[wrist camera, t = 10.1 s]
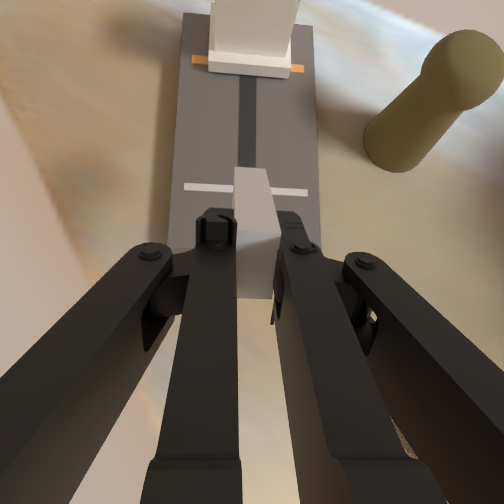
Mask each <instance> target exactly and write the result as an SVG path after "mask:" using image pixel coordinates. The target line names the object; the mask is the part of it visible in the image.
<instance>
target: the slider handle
mask: <svg viewBox="0 0 504 504" xmlns="http://www.w3.org/2000/svg"><path fill="white" fill-rule="evenodd" d="M299 2H300V0H215V3H211V13H210V34H209V55H208V72H219V73H231V74H242V75H254V76H265V77H276V78H289V74H290V71H291V34H292V30H293V26H294V22H295V18H296V14H297V10H298V6H299Z"/></svg>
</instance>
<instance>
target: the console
mask: <svg viewBox="0 0 504 504" xmlns="http://www.w3.org/2000/svg"><path fill="white" fill-rule="evenodd" d="M209 34H210V15H203V14H194V13H183V28H182V42H181V56H180V70H179V85H178V99H177V113H176V127H175V142H174V156H173V170H172V184H171V199H170V213H169V227H168V241H167V246H168V247H169V248H171V251H172V253H173V254H177V253H182V252H186V251H189V250H191V249H193V248H195V244H196V219H197V218H198V217H199V216H201V215H203V214H204V212H205V211H206V210H207V209H208V208H210V207H213V208H230V209H232V202H233V185H234V169H235V167H248V168H262V169H266V173H267V177H268V181H269V185H270V189H271V193H272V197H273V201H274V205H275V209H276V210H278V211H294V212H295V213H296V214H297V215H299V216H300V217H301V220H302V222H303V225H304V228H305V230H306V233H307V236H308V238H309V241H310V242H313V243H314V244H316V245H318V247H319V248H320V249H321V231H320V205H319V179H318V153H317V126H316V100H315V74H314V48H313V26H309V25H299V24H294V26H293V30H292V34H291V71H290V74H289V78H276V77H265V76H254V75H242V74H231V73H219V72H208V55H209Z"/></svg>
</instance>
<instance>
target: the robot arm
mask: <svg viewBox="0 0 504 504" xmlns="http://www.w3.org/2000/svg"><path fill="white" fill-rule="evenodd" d="M273 289H274V296H275V297H274V303H273V310H272V317H271V323H270V325H273V324H274V320H275V328H276V335H277V342H278V349H279V356H280V363H281V370H282V377H283V384H284V391H285V398H286V406H287V413H288V420H289V427H290V434H291V441H292V448H293V455H294V462H295V469H296V477H297V484H298V491H299V498H300V504H448V503H449V504H504V372H503V371H502V370H501V369H500V368H499V367H498V366H497V365H496V364H495V363H494V362H492V361H491V360H490V359H489V358H488V357H487V356H486V355H485V354H484V353H483V352H482V351H480V350H479V349H478V348H477V347H476V346H475V345H474V344H473V343H472V342H471V341H470V340H469V339H467V338H466V337H465V336H464V335H463V334H462V333H461V332H460V331H459V330H458V329H457V328H455V327H454V326H453V325H452V324H451V323H450V322H449V321H448V320H447V319H446V318H445V317H443V316H442V315H441V314H440V313H439V312H438V311H437V310H436V309H435V308H434V307H433V306H432V305H430V304H429V303H428V302H427V301H426V300H425V299H424V298H423V297H422V296H421V295H420V294H418V293H417V292H416V291H415V290H414V289H413V288H412V287H411V286H410V285H409V284H408V283H406V282H405V281H404V280H403V279H402V278H401V277H400V276H399V275H398V274H397V273H396V272H395V271H393V270H392V269H391V268H390V267H389V266H388V265H387V264H386V263H385V262H384V261H382V260H381V259H379V258H378V257H376V256H374V255H372V254H370V253H366V252H352V253H349V254H347V255H346V256H345V260H344V262H341V261H336V260H332V259H329V258H326V257H324V256H323V254H322V251H321V249H320V248H319V247H318V245H316V244H314V243H313V242H310V241H309V238H308V236H307V233H306V230H305V228H304V225H303V222H302V220H301V217H300V216H299V215H297V214H296V213H295V212H294V211H278V210H276V209H275V205H274V201H273V197H272V193H271V189H270V185H269V181H268V177H267V173H266V169H262V168H248V167H235V169H234V185H233V202H232V209H230V208H213V207H210V208H208V209H207V210H206V211H205V212H204V214H203V215H201V216H199V217H198V218H197V219H196V244H195V248H193V249H191V250H189V251H186V252H182V253H177V254H172V251H171V248H169V247H168V246H167V245H164V244H161V243H153V242H148V243H143V244H140V245H137V246H135V247H133V248H132V249H130V250H129V251H128V252H127V253H126V254H125V255H124V256H123V257H122V258H121V259H120V260H119V261H118V262H117V263H116V264H115V265H114V266H113V267H112V268H111V269H110V270H109V271H108V272H107V273H106V274H105V275H104V276H103V277H102V278H101V279H100V280H99V281H98V282H97V283H96V284H95V285H94V286H93V287H92V288H91V289H90V290H89V291H88V292H87V293H86V294H85V295H84V296H83V297H82V298H81V299H80V300H79V301H78V302H77V303H76V304H75V305H74V306H73V307H72V308H71V309H69V310H68V312H66V313H65V315H63V316H62V317H61V319H59V321H57V322H56V323H55V324H54V325H53V326H52V327H51V328H50V330H48V331H47V332H46V333H45V334H44V335H43V336H42V337H41V338H40V339H39V340H38V341H37V342H36V343H35V344H34V345H33V346H32V347H31V348H30V349H29V350H28V351H27V352H26V353H25V354H24V355H23V356H22V357H21V358H20V359H19V360H18V361H17V362H16V363H15V364H14V365H13V366H12V367H11V368H10V369H9V370H8V371H7V372H6V373H5V374H4V375H3V376H2V377H1V378H0V504H69V502H70V500H71V499H72V497H73V495H74V493H75V492H76V490H77V488H78V486H79V485H80V483H81V481H82V480H83V478H84V476H85V474H86V473H87V471H88V469H89V467H90V466H91V464H92V462H93V461H94V459H95V457H96V455H97V454H98V452H99V450H100V448H101V447H102V445H103V443H104V442H105V440H106V438H107V436H108V435H109V433H110V431H111V429H112V427H113V426H114V424H115V422H116V421H117V419H118V417H119V416H120V414H121V412H122V410H123V409H124V407H125V405H126V403H127V402H128V400H129V398H130V396H131V395H132V393H133V391H134V390H135V388H136V386H137V384H138V383H139V381H140V379H141V377H142V376H143V374H144V372H145V370H146V369H147V367H148V365H149V364H150V362H151V360H152V358H153V357H154V355H155V353H156V351H157V350H158V348H159V346H160V344H161V343H162V341H163V339H164V338H165V336H166V334H167V332H168V331H169V329H170V327H171V325H172V324H173V322H174V318H175V315H179V314H182V318H181V324H180V329H179V334H178V340H177V345H176V350H175V356H174V361H173V366H172V372H171V377H170V382H169V388H168V393H167V398H166V404H165V409H164V414H163V420H162V425H161V430H160V436H159V441H158V446H157V451H156V454H155V457H154V458H153V459H152V460H151V461H150V463H149V466H148V469H147V473H146V477H145V481H144V485H143V490H142V495H141V500H140V504H243V500H242V468H241V460H240V458H239V430H238V357H237V298H254V299H272V293H273ZM372 310H373V312H374V313H375V314H376V316H377V320H376V322H375V321H374V320H373V319H372V317H371V316H370V315H371V312H372ZM389 415H390V416H391V418H392V419H393V421H394V422H395V424H396V425H397V427H398V428H399V430H400V431H401V433H402V434H403V436H404V437H405V439H406V440H407V442H408V443H409V445H410V446H411V448H412V449H413V451H414V452H415V454H416V455H417V457H418V458H419V460H418V459H414V458H410V457H409V456H408V455H407V454H406V452H405V450H404V449H403V447H402V445H401V442H400V440H399V437H398V435H397V433H396V430H395V428H394V425H393V423H392V420H391V418H390V416H389ZM446 500H447V501H446ZM447 502H448V503H447Z"/></svg>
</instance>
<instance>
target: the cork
mask: <svg viewBox="0 0 504 504" xmlns="http://www.w3.org/2000/svg"><path fill="white" fill-rule="evenodd" d="M503 79H504V53H503V51H502V50H501V48H500V46H499V45H498V44H497V43H496V42H495V41H494V40H493V39H492V38H490V37H488V36H487V35H485V34H484V33H481V32H478V31H475V30H461V31H456V32H454V33H451V34H449V35H447V36H446V37H444V38H443V39H441V40H440V41H439V42H438V43H436V44H435V45H434V47H433V48H432V49H431V51H430V52H429V54H428V55H427V57H426V58H425V60H424V62H423V65H422V68H421V73H420V75H419V76H418V77H417V78H416V79H415V80H414V81H413V82H412V83H411V84H410V85H409V86H408V87H407V88H406V89H405V90H404V91H403V92H402V93H401V94H399V95H398V96H397V97H396V98H395V99H394V100H393V101H392V102H391V103H390V104H389V105H388V106H387V107H386V108H385V109H384V110H383V111H382V112H381V113H380V114H378V115H377V116H376V117H375V118H374V119H373V120H372V121H371V122H370V123H369V125H368V126H367V128H366V129H365V132H364V136H363V142H364V148H365V150H366V152H367V155H368V156H369V157H370V159H371V160H372V161H373V162H374V163H375V164H376V165H378V166H379V167H381V168H382V169H384V170H387V171H390V172H401V173H402V172H406V171H409V170H411V169H413V168H414V167H415V166H417V165H418V164H419V163H420V161H421V160H422V159H423V158H424V157H425V156H426V154H427V153H428V152H429V151H430V150H431V149H432V147H433V146H434V145H435V144H436V143H437V141H438V140H439V139H440V138H441V137H442V136H443V134H444V133H445V132H446V131H447V130H448V128H449V127H450V126H451V125H452V124H453V123H454V121H455V120H456V119H457V118H458V117H459V116H460V114H461V113H462V112H463V111H465V110H469V109H472V108H474V107H476V106H478V105H480V104H481V103H483V102H484V101H485V100H487V99H488V98H489V97H490V96H492V95H493V94H494V93H495V91H496V90H497V89H498V87H499V86H500V84H501V82H502V81H503Z"/></svg>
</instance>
